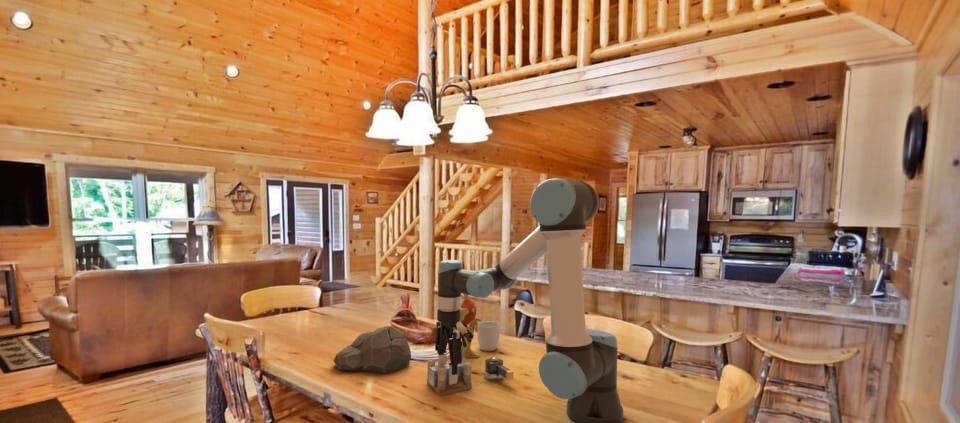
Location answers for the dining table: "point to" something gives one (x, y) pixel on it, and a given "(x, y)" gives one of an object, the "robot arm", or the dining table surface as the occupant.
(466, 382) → the rack
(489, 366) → the dark grey mechanical part
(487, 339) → the mug
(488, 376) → the base
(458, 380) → the bar
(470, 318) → the toy
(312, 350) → the dining table surface
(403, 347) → the decorative rock
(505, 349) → the dining table surface
